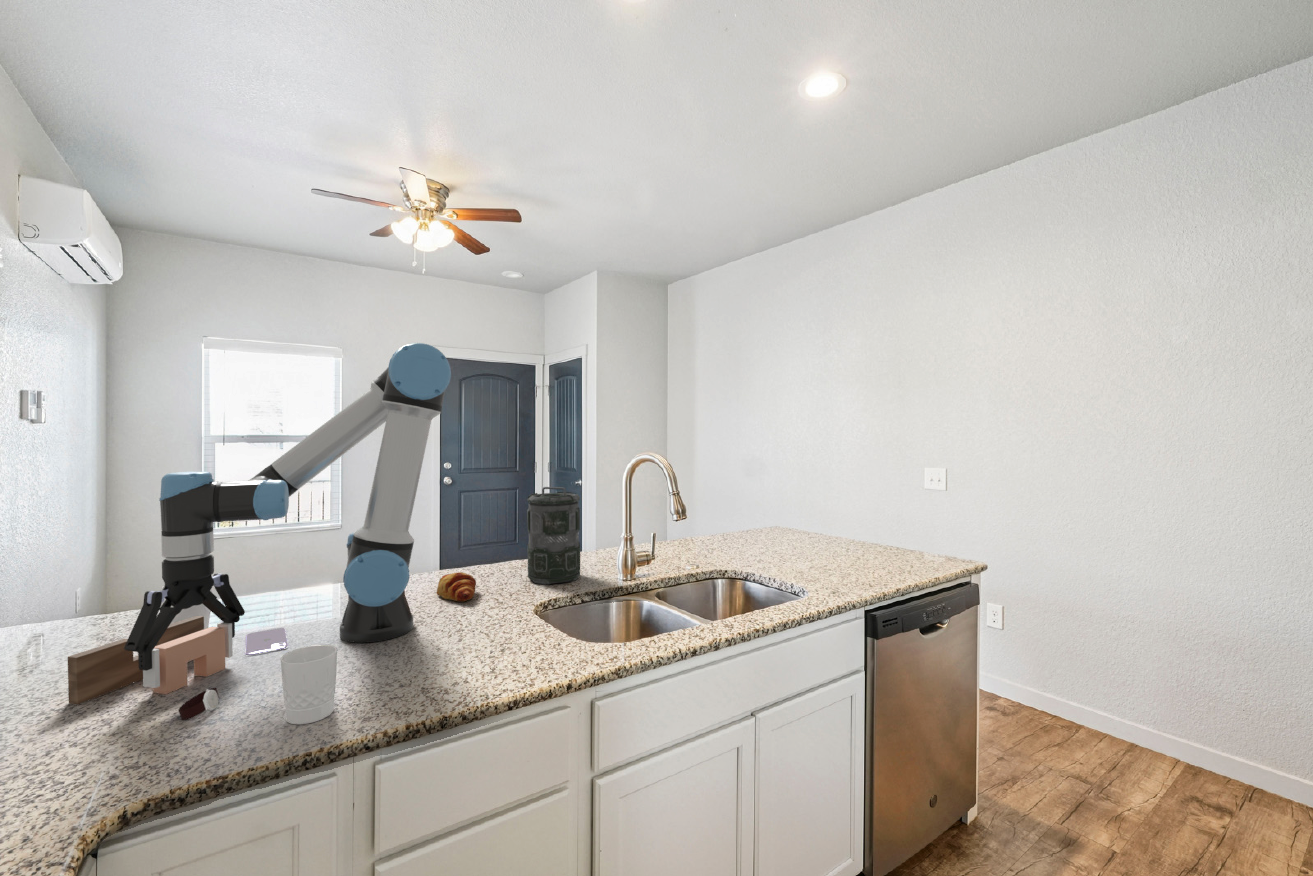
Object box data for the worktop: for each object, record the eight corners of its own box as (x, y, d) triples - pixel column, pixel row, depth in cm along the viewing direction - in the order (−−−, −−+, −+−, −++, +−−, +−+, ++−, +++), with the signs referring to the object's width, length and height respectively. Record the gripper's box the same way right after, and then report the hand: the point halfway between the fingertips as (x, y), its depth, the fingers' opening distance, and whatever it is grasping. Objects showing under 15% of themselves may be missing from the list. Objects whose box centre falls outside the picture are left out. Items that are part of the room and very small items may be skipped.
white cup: (297, 704, 100) (296, 645, 99) (346, 702, 100) (345, 643, 100) (271, 728, 92) (270, 664, 92) (324, 725, 92) (323, 662, 92)
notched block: (212, 667, 115) (212, 626, 115) (225, 668, 114) (224, 627, 114) (153, 692, 104) (152, 647, 104) (166, 694, 103) (165, 648, 103)
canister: (519, 584, 174) (518, 489, 173) (538, 571, 190) (538, 484, 189) (571, 586, 171) (570, 490, 171) (586, 573, 187) (586, 484, 186)
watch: (203, 721, 94) (202, 699, 94) (169, 725, 93) (168, 702, 93) (227, 699, 102) (226, 678, 102) (196, 702, 101) (195, 681, 101)
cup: (185, 647, 125) (184, 591, 125) (150, 644, 127) (149, 588, 127) (224, 632, 134) (223, 580, 134) (191, 629, 136) (190, 578, 136)
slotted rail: (204, 655, 121) (203, 616, 121) (77, 705, 100) (76, 657, 99) (196, 654, 121) (196, 615, 121) (68, 703, 100) (67, 656, 100)
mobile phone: (285, 626, 137) (289, 645, 124) (285, 630, 137) (289, 650, 124) (245, 632, 132) (244, 654, 120) (245, 637, 132) (245, 658, 120)
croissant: (436, 600, 170) (422, 577, 168) (467, 579, 175) (453, 557, 173) (458, 618, 153) (443, 593, 151) (491, 594, 158) (477, 570, 156)
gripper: (234, 542, 122) (236, 644, 122) (94, 571, 97) (97, 699, 98) (264, 543, 120) (266, 647, 120) (129, 574, 96) (132, 703, 96)
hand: (190, 670), depth 109 cm, fingers open, 13 cm apart
